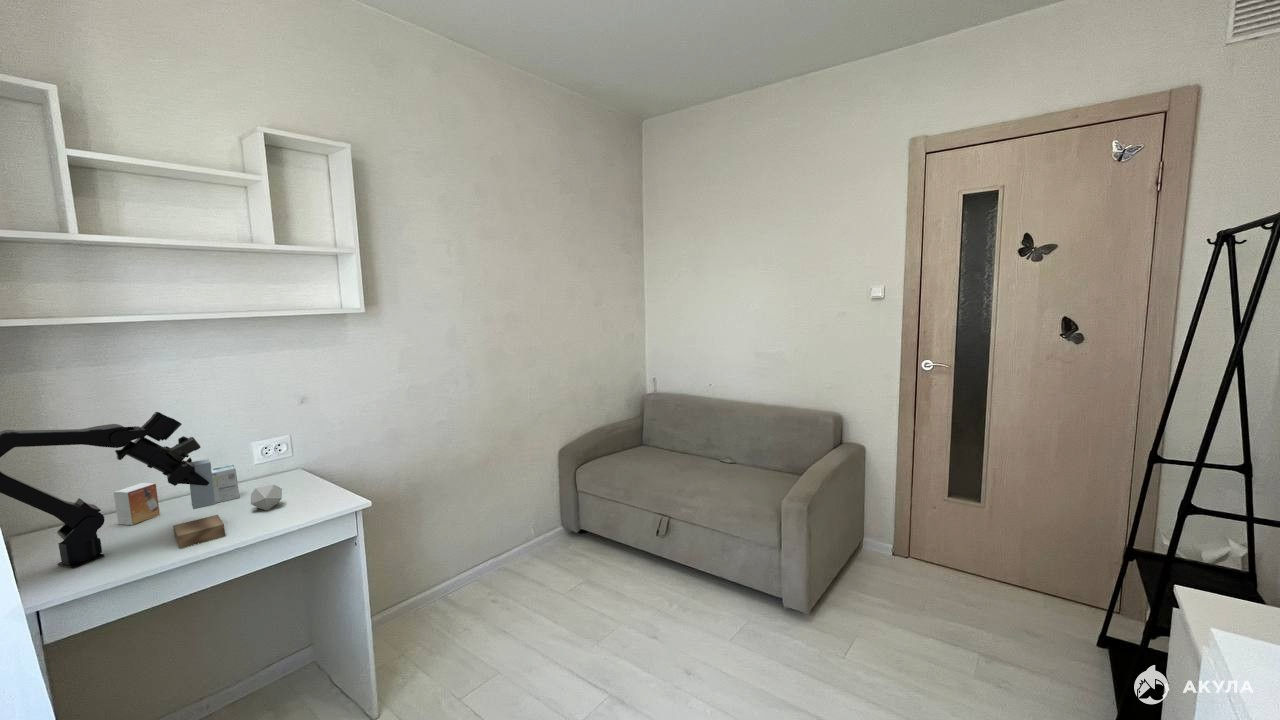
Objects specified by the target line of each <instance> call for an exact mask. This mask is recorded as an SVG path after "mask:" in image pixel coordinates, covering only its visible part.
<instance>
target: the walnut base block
mask: <svg viewBox="0 0 1280 720" xmlns="http://www.w3.org/2000/svg"><path fill="white" fill-rule="evenodd" d="M172 528H173V533H174V535H173V536H174V539H175V542H176V544H177V547H178V549H179V550H181V549H185V548H188V546H189V547H192V546H195V545H194V544H196V545H199V544H203V543H206V542H210V541H213V539H214V540H217V539H220V537H221V538H223V537H226V530H225V524H224V522H223V520H222V519H221V517H220V516H219V514H214V515H210V516H207V517H202V518H199V519H193V520H191V521H187V522H183V523H179V524H178V523H177V524H174V525H173V527H172ZM209 540H210V541H209ZM202 542H203V543H202ZM198 543H199V544H198ZM191 545H192V546H191Z"/></svg>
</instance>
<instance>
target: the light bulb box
mask: <svg viewBox="0 0 1280 720" xmlns="http://www.w3.org/2000/svg"><path fill="white" fill-rule="evenodd" d="M211 471H212V480H213V489H214V498H215V504H217V503H221V502H226V501H229V500H235V499H238V498H239V499H240V489H239V483H238V477H237V475H238V474H237V470H236V467H235V465H234V464H233V463H232V464H226V465H221V466H215V467H211Z"/></svg>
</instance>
